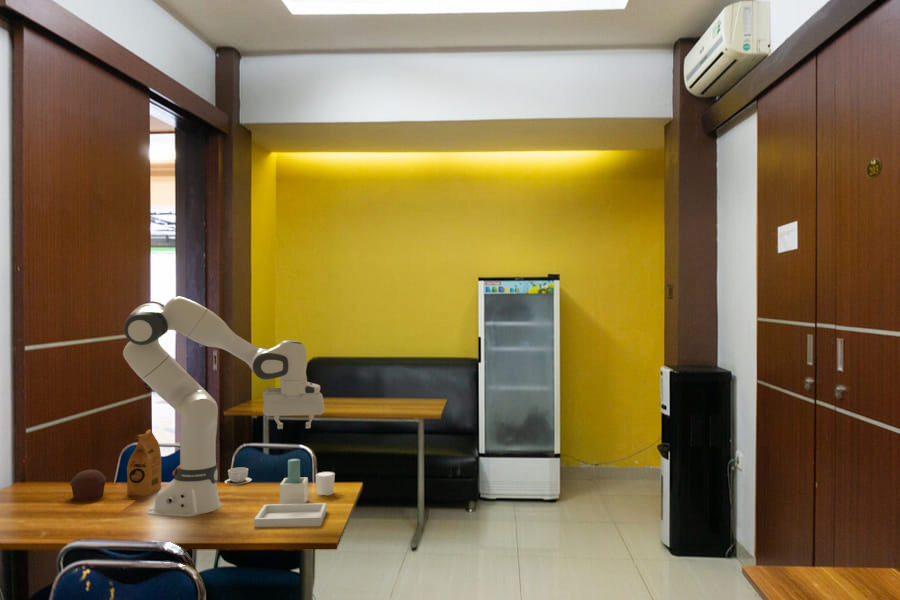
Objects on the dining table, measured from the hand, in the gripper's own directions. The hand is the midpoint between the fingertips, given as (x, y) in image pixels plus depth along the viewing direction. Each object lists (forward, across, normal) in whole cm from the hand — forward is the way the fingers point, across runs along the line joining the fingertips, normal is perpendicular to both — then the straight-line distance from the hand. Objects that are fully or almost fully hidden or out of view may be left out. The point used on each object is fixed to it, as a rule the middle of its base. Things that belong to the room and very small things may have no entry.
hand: (294, 428), depth 217 cm
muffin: (+26, -73, +11) cm, 78 cm away
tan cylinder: (+26, +9, +12) cm, 30 cm away
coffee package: (+26, -57, +17) cm, 65 cm away
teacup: (+26, -27, +30) cm, 48 cm away
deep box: (+26, 0, 0) cm, 26 cm away
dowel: (+25, 0, 0) cm, 25 cm away
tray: (+26, +2, -16) cm, 31 cm away
